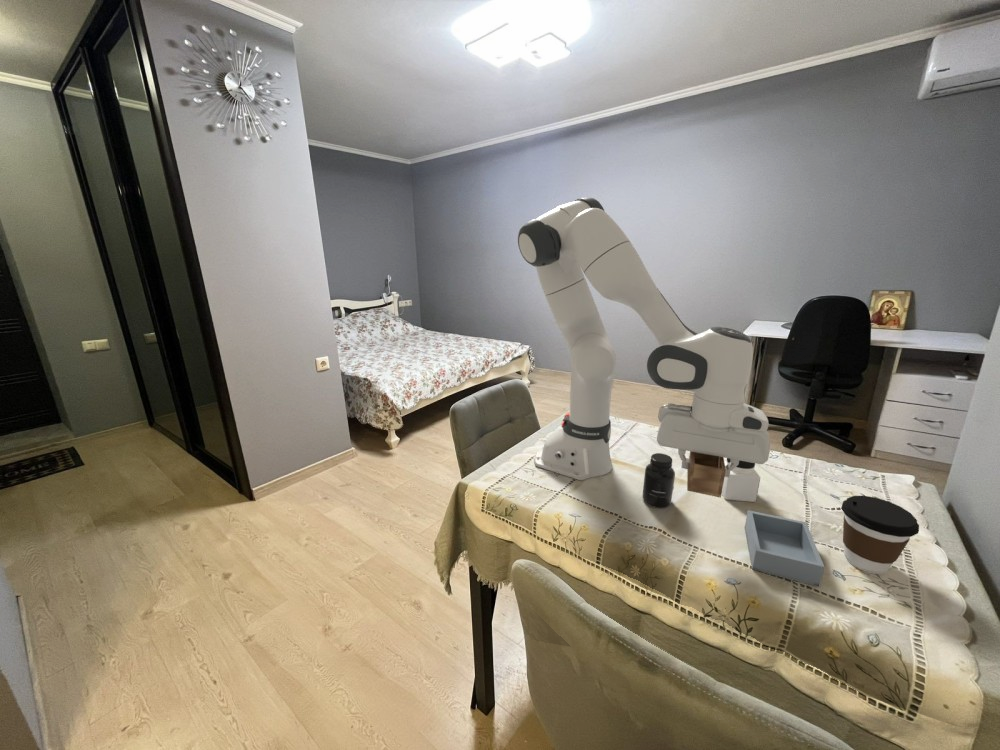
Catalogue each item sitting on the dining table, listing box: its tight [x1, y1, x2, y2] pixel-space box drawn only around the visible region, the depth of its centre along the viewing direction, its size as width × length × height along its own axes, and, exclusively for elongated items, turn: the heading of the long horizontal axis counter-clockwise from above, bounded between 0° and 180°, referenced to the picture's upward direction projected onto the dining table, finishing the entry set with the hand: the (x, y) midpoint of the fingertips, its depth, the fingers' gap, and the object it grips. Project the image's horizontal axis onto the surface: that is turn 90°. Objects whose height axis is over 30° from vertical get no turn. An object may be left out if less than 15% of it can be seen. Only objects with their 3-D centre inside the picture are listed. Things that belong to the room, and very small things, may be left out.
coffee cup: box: [840, 495, 920, 575], centre depth 78 cm, size 11×11×12 cm
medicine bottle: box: [721, 458, 761, 503], centre depth 101 cm, size 7×7×12 cm
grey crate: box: [744, 509, 825, 588], centre depth 81 cm, size 11×14×4 cm
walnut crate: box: [686, 451, 726, 498], centre depth 83 cm, size 6×9×6 cm, turn 156°
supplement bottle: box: [642, 452, 676, 509], centre depth 99 cm, size 7×7×12 cm
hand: (704, 471), depth 84 cm, fingers closed on walnut crate, 6 cm apart
